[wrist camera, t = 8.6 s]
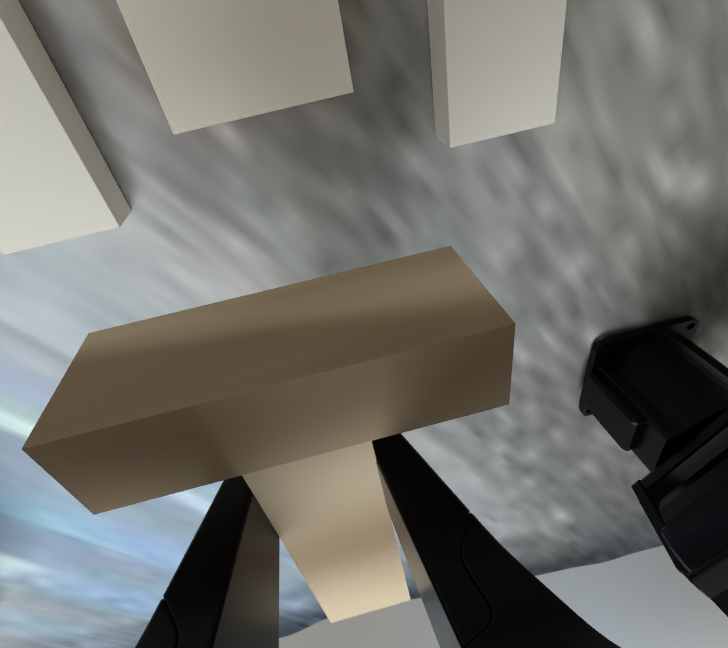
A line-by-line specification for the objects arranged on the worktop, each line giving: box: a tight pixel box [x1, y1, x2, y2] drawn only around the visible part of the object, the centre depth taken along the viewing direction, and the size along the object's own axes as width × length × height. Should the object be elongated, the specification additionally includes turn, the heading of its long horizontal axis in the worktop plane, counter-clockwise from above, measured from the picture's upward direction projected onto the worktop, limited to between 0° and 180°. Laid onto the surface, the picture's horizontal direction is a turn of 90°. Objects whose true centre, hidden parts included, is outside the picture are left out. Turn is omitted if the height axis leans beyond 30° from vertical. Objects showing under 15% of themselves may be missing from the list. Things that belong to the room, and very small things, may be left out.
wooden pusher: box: [22, 246, 515, 623], centre depth 11 cm, size 10×8×3 cm
